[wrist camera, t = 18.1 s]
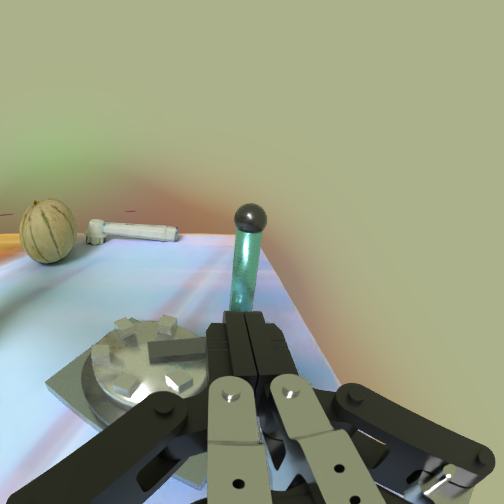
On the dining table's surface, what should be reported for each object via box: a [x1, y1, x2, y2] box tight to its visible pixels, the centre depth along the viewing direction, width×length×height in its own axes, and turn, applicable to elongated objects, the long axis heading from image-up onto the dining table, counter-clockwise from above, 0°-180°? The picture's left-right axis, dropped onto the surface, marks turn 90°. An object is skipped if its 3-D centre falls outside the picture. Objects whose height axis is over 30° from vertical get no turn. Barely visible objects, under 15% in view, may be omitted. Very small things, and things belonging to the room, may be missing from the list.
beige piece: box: [85, 219, 178, 245], centre depth 73 cm, size 5×7×25 cm
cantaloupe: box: [20, 198, 77, 263], centre depth 55 cm, size 15×15×15 cm
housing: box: [45, 318, 207, 490], centre depth 31 cm, size 22×18×4 cm
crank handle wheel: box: [91, 203, 267, 412], centre depth 27 cm, size 18×13×19 cm
